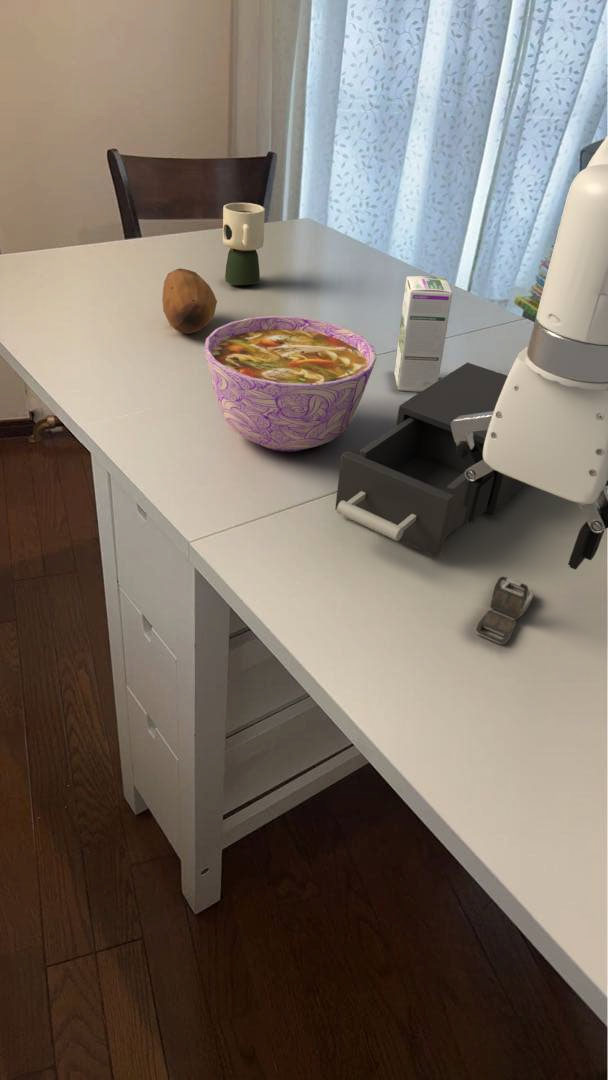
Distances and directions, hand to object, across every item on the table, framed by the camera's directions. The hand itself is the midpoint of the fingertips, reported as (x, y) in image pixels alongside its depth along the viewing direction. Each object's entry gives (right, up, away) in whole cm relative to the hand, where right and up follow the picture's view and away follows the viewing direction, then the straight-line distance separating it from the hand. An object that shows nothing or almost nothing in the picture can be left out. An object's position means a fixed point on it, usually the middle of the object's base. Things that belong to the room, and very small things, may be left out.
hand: (524, 537), depth 69 cm
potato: (-37, +33, +56) cm, 75 cm away
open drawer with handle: (-7, +3, +17) cm, 19 cm away
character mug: (-30, +46, +75) cm, 93 cm away
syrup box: (-3, +22, +46) cm, 51 cm away
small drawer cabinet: (+1, +9, +28) cm, 29 cm away
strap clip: (0, -7, +6) cm, 9 cm away
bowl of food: (-21, +13, +31) cm, 39 cm away
